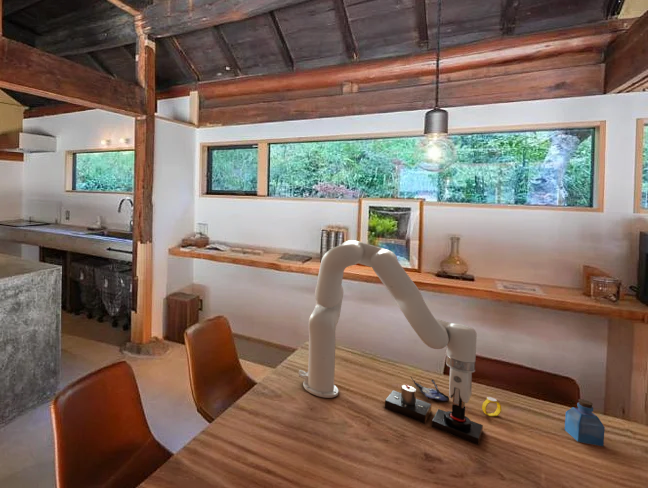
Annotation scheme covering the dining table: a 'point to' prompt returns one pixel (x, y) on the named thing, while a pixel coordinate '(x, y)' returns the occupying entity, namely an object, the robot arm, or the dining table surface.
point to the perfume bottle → (584, 424)
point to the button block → (458, 427)
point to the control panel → (408, 407)
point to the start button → (457, 418)
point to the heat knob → (408, 395)
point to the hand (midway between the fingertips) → (458, 417)
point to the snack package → (432, 392)
